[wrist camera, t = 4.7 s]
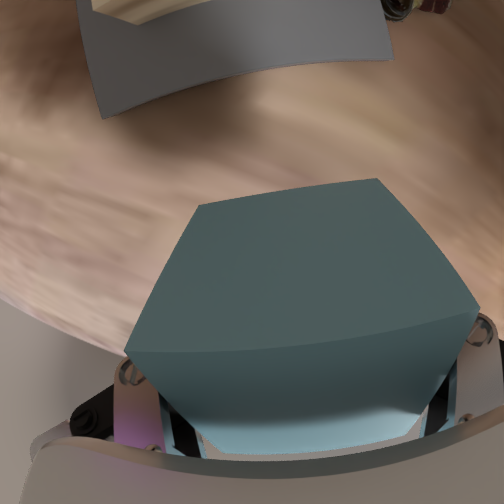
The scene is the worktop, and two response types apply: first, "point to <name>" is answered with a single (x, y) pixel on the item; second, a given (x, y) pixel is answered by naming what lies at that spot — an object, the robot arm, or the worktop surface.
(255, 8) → the stacking base
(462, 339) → the teal block
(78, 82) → the worktop surface
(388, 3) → the chocolate cake
